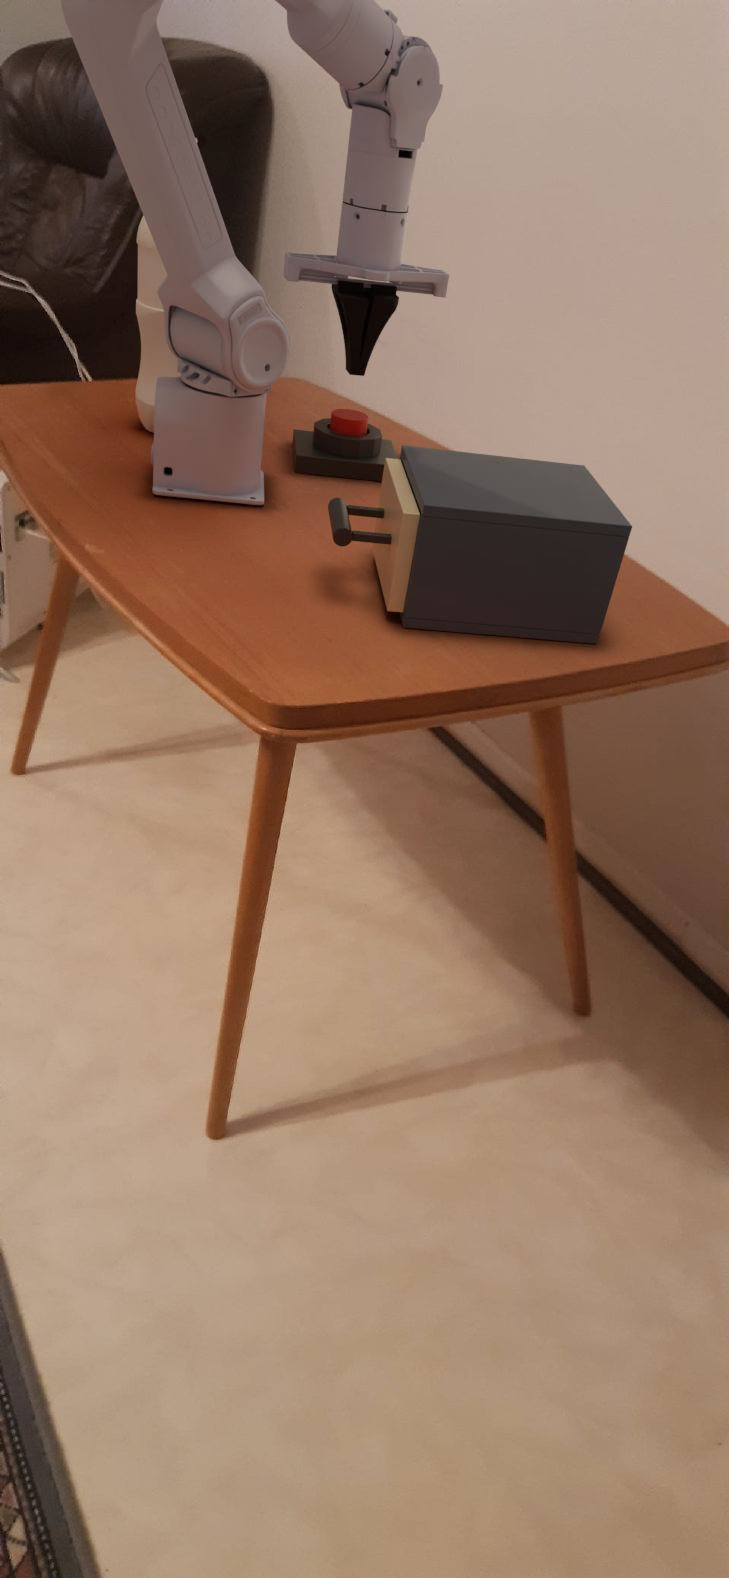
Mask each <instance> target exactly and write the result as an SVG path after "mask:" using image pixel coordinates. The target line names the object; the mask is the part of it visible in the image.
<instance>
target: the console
mask: <svg viewBox="0 0 729 1578" xmlns="http://www.w3.org/2000/svg"><path fill="white" fill-rule="evenodd" d="M330 421H331V417H328V418H321V419H319V420H316V421H314V424H313V430H303V429H293V432H292V443H291V448H292V449H291V450H292V457H293V469H294V473H296V474H306V475H316V476H327V477H333V478H343V479H352V480H353V479H354V480H361V481H370V482H371V481H373V482H381V483H382V478H383V471H384V465H385V459H386V458H391V459H399V458H398V454H397V452H396V449H395V445H394V443H393V440H392V439H383V433H382V430H381V429H380V428H378V427H377V426H375V425H372V424H370V423H368V427H367V434H366V435H363V436H352V435H343V434H340V433H336V432H333V431H332V430H330Z"/></svg>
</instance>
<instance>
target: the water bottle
mask: <svg viewBox="0 0 729 1578" xmlns="http://www.w3.org/2000/svg"><path fill="white" fill-rule="evenodd" d="M195 139H196V142H197V143H198V138H197V137H195ZM136 244H137V298H136V300H135V315H136V319H137V324H138V329H139V336H140V361H139V370H138V376H137V380H136V384H135V388H134V389H135V396H134V397H135V399H134V400H135V407H136V411H137V414H138V418H139V420H140V422H141V424H142V426H143V428H144V429H145V430H146V431H148V432H150V433H152V434H154V410H155V393H156V383H157V378H158V377H181V374H180V373H178V372H177V369H178V358H176V356H175V355H174V354H173V353H172V352H171V350H170V349H169V346H168V344H167V341H166V338H165V331H164V310H163V306H162V303H161V300H160V298H159V296H158V292H157V291H158V289H159V287H160V285H161V283H162V282H163V280H164V279H165V277H166V276H167V272H166V270H165V267H164V265H163V262H162V260H161V257H160V255H159V252H158V250H157V247H156V245H155V242H154V240H153V237H152V235H151V232H150V230H149V228H148V225H147V223H146V220H145V218H144V215H143V214H142V217H141V220H140V221H139V225H138V227H137V233H136Z"/></svg>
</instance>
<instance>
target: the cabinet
mask: <svg viewBox="0 0 729 1578" xmlns="http://www.w3.org/2000/svg"><path fill="white" fill-rule="evenodd" d="M399 459H400V460H401V462H402V465H403V468H404V470H405V473H406V476H407V479H408V482H409V484H410V487H411V490H412V493H413V496H414V494H415V497H416V500H417V502H418V505H419V508H420V511H421V514H420V520H419V526H418V532H417V538H416V543H415V549H414V555H413V561H412V566H411V572H410V578H409V584H408V590H407V595H406V601H405V607H404V612H398V614H399V617H400V621H401V625H402V628H403V629H415V630H424V631H425V630H427V631H438V632H449V633H450V632H451V633H463V634H473V635H474V634H475V635H487V636H499V637H509V638H510V637H511V638H521V639H522V638H523V639H533V640H547V641H558V642H569V643H570V642H571V643H581V644H591V645H594V644H595V645H596V644H598V643H599V639H600V635H601V633H602V629H603V626H604V622H605V619H606V616H607V613H608V610H609V606H610V603H611V599H612V596H613V593H614V589H615V586H616V582H617V579H618V576H619V572H620V569H621V566H622V563H623V558H624V555H625V552H626V549H627V546H628V542H629V539H630V536H631V532H632V530H633V529H632V528H633V525H632V524H631V523H630V522H629V520H628V519H627V518H626V516H625V515H624V514H623V512H622V511H621V510H620V509H619V508H618V506H617V505H616V504H615V502H614V501H613V500H612V499H611V498H610V496H609V495H608V494H607V492H606V491H605V490H604V488H603V487H602V486H601V484H600V483H599V482H598V481H597V480H596V478H595V477H594V475H592V473H591V472H590V471H589V469H588V468H587V467H586V465H583V464H575V463H566V462H565V463H564V462H557V461H548V460H540V459H528V458H520V457H511V456H503V455H493V454H484V453H476V452H475V453H474V452H465V451H457V450H448V449H440V448H431V447H423V446H422V447H421V446H414V445H413V446H412V445H404V444H403V445H401V449H400V456H399Z"/></svg>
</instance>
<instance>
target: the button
mask: <svg viewBox="0 0 729 1578" xmlns="http://www.w3.org/2000/svg"><path fill="white" fill-rule="evenodd" d="M330 413H331V414H330V418H331V421H330V430H332V431H333V432H336V433H340V434H343V435H352V436H363V435H366V434H367V427H368V424H369V419H370V417H369V415H368V414H367V413H364V412H362V411H360V410H356V409H350V408H335V409H332V411H331V412H330Z"/></svg>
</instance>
